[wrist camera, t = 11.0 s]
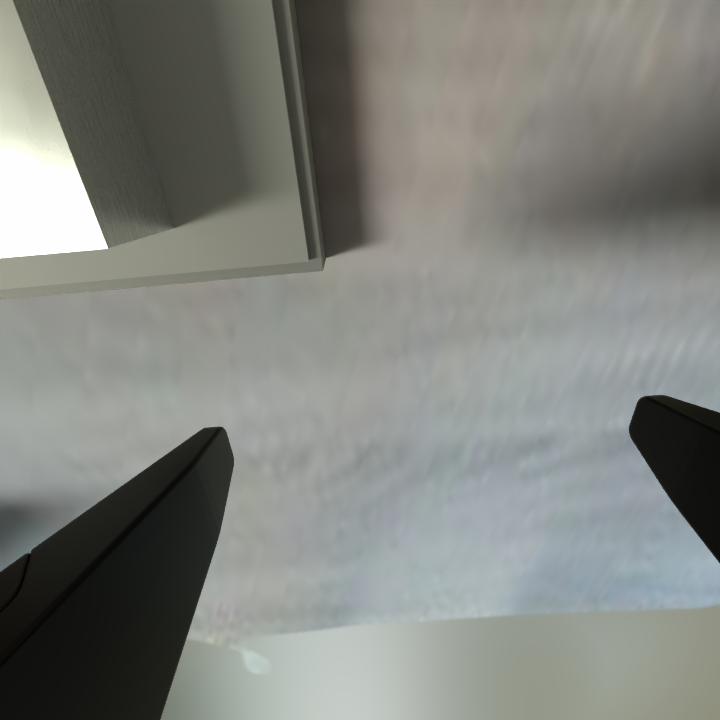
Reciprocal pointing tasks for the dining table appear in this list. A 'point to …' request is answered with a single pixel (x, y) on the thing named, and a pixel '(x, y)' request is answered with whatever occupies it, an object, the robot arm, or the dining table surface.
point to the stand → (207, 152)
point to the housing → (71, 134)
